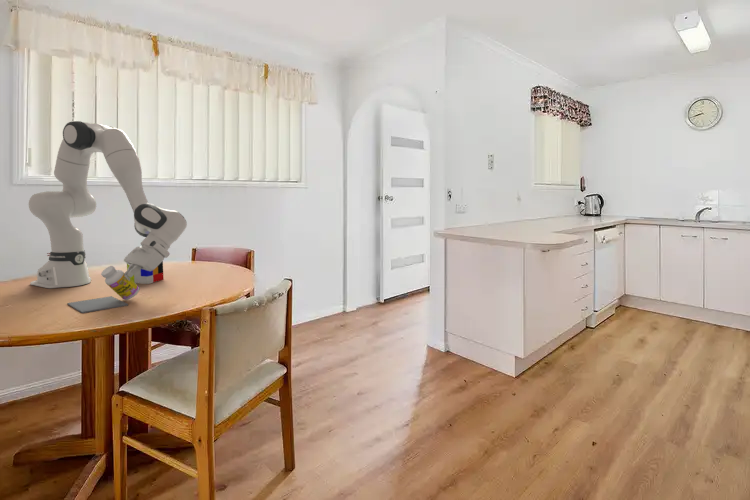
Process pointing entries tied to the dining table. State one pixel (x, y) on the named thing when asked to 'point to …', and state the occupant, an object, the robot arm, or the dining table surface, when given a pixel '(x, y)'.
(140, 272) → the puzzle toy
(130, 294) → the supplement bottle
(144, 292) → the dining table surface
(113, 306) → the mat
